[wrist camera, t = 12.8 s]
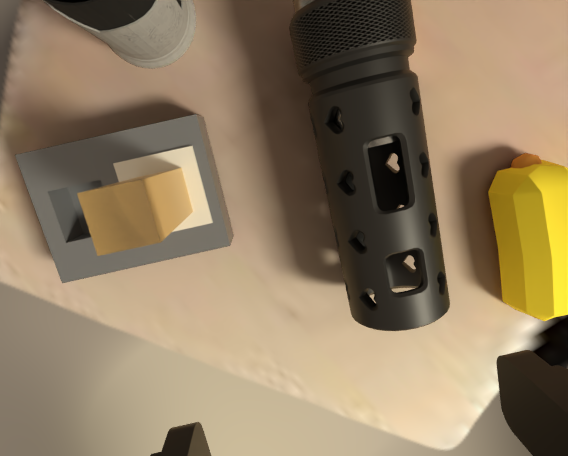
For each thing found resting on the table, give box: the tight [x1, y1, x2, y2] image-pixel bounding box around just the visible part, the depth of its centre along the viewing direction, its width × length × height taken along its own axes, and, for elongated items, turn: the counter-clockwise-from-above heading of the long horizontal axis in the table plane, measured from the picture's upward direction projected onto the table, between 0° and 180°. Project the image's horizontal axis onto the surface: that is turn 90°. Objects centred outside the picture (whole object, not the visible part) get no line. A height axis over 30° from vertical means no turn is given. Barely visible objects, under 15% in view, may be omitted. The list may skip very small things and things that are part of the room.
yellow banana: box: [488, 153, 568, 321], centre depth 38 cm, size 18×7×8 cm
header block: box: [15, 114, 234, 283], centre depth 36 cm, size 12×16×4 cm
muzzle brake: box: [289, 0, 450, 331], centre depth 34 cm, size 10×28×10 cm, turn 13°
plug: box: [77, 168, 193, 256], centre depth 29 cm, size 4×4×11 cm
